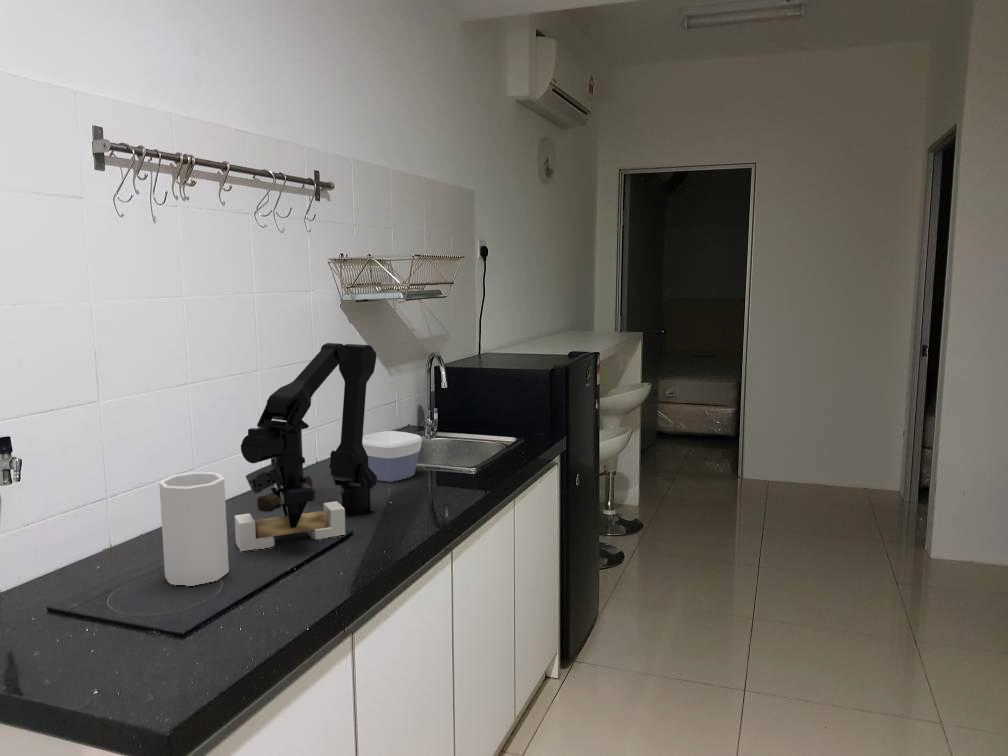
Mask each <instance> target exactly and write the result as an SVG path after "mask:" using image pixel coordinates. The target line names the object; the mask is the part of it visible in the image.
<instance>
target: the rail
mask: <svg viewBox="0 0 1008 756" xmlns="http://www.w3.org/2000/svg"><path fill="white" fill-rule="evenodd" d="M254 521H255V532H256V538H263V537H269V536H273V537H277V536H283V535H292V534H296V533H303V532H307V531H311V530H314V529H321V528H326V520H325V514H324V511H322V510H320V511H319V510H318V511H312V512H311V511H310V512H304V513H303V512H302V515H301V517H300V519H299V522H298V524H297V526H296V528H291V527H290V523H289V519H288V516H284V515H282V516H276V517H269V518H262V519H256V520H255V519H254Z"/></svg>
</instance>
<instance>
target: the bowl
mask: <svg viewBox="0 0 1008 756" xmlns="http://www.w3.org/2000/svg"><path fill="white" fill-rule="evenodd" d="M422 443H423V437H422V436H421V435H419V434H415V433H412V432H411V433H410V432H406V431H396V430H394V431H393V430H387V431H380V432H375V433H374V432H373V433H370V434H367V435H363V440H362V445H363V447H364V449H365V451H366V453H367V455H368V467H369V468H370V469H371V470H372V471H373V473H374V474H375V475H376V476H377V480H376V481H380V482H385V481H386V483H393V482H394V481H395V482H400V481H403V480H402V479H404V480H407V479H410V478H411V477H413V476H415V473H416V469H417V465H418V460H419V457H420V451H421V447H422ZM406 478H407V479H406ZM399 480H400V481H399Z"/></svg>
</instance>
